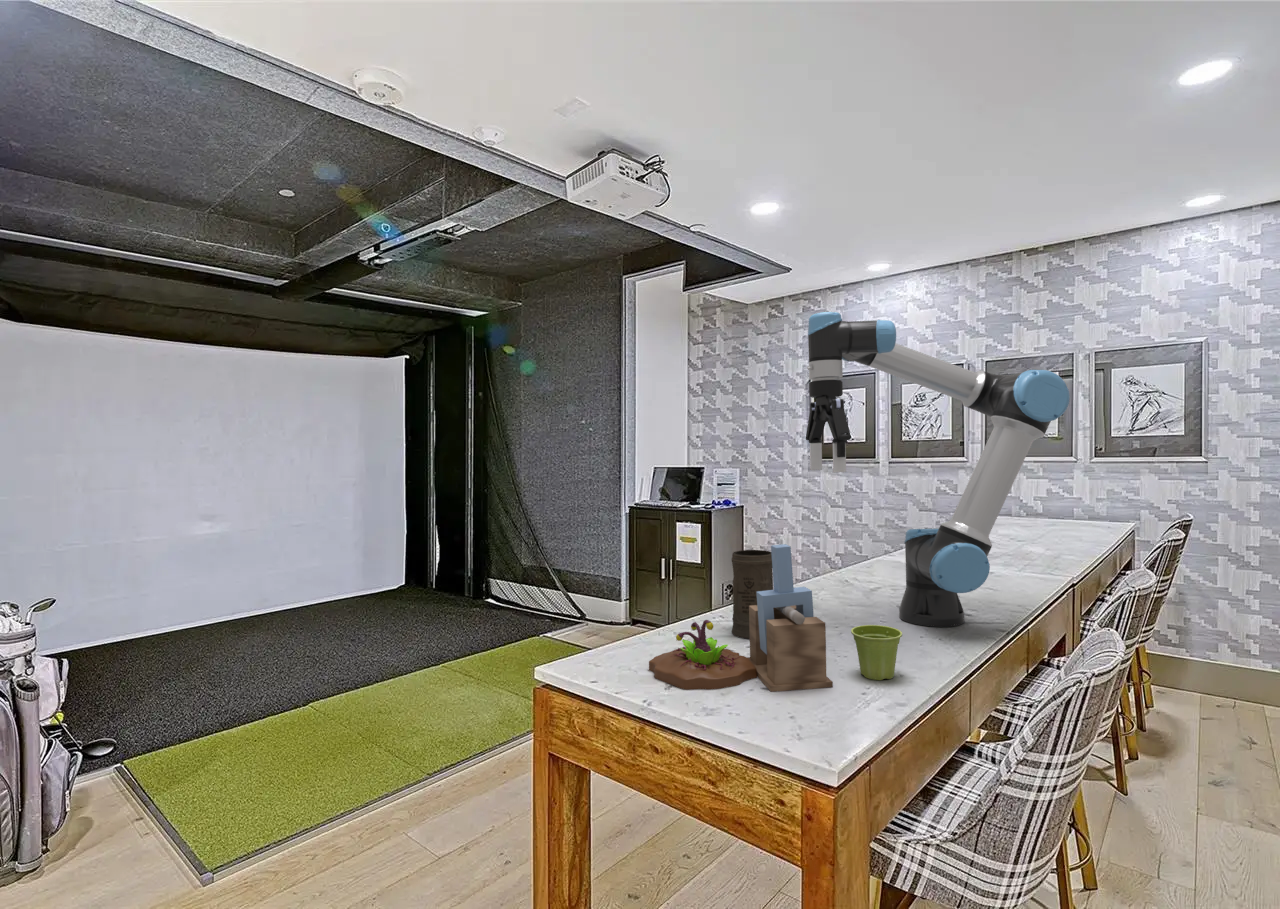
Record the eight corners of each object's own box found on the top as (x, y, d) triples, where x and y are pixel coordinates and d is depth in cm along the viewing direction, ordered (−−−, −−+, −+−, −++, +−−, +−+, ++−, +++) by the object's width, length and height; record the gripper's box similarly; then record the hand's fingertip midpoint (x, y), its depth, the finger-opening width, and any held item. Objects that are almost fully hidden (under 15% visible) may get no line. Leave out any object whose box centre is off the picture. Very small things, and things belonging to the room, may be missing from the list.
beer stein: (777, 641, 157) (775, 553, 158) (730, 639, 159) (728, 553, 160) (777, 627, 172) (775, 547, 173) (734, 626, 174) (733, 547, 175)
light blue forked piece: (808, 642, 138) (801, 542, 137) (815, 648, 134) (808, 545, 133) (760, 648, 136) (753, 546, 136) (766, 654, 132) (759, 549, 132)
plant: (685, 698, 124) (684, 637, 124) (637, 668, 142) (636, 614, 142) (773, 679, 134) (772, 622, 133) (717, 652, 151) (716, 602, 151)
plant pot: (897, 687, 127) (896, 640, 126) (846, 679, 132) (845, 634, 131) (907, 672, 135) (906, 628, 134) (858, 664, 140) (858, 622, 139)
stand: (799, 658, 144) (798, 592, 144) (832, 687, 127) (831, 612, 127) (744, 662, 143) (743, 595, 142) (770, 691, 126) (769, 616, 126)
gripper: (791, 384, 171) (793, 469, 171) (832, 375, 146) (834, 473, 147) (820, 384, 172) (821, 468, 172) (865, 374, 147) (867, 472, 148)
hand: (827, 471), depth 160 cm, fingers open, 13 cm apart
